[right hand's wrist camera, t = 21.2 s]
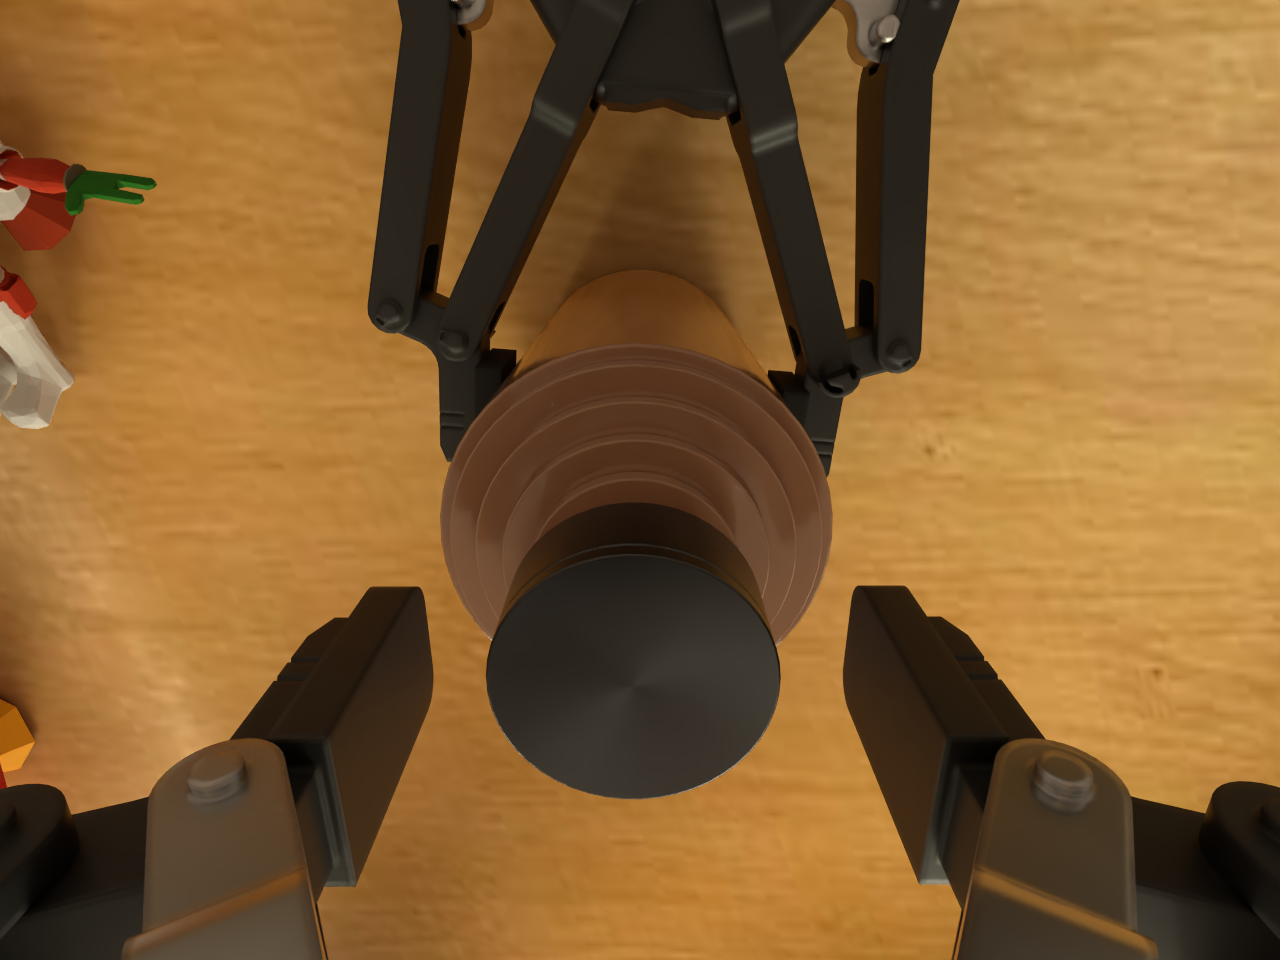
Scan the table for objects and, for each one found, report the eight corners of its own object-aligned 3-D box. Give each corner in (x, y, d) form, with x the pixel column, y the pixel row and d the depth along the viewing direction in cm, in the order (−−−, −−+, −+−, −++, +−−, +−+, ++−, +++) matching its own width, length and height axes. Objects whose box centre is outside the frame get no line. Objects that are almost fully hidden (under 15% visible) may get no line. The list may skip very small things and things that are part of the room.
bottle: (557, 481, 30) (435, 886, 13) (519, 285, 28) (291, 447, 10) (750, 457, 30) (906, 839, 12) (732, 254, 27) (902, 367, 9)
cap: (798, 667, 13) (823, 742, 11) (580, 751, 13) (571, 835, 11) (698, 457, 11) (708, 505, 9) (460, 564, 12) (429, 625, 10)
